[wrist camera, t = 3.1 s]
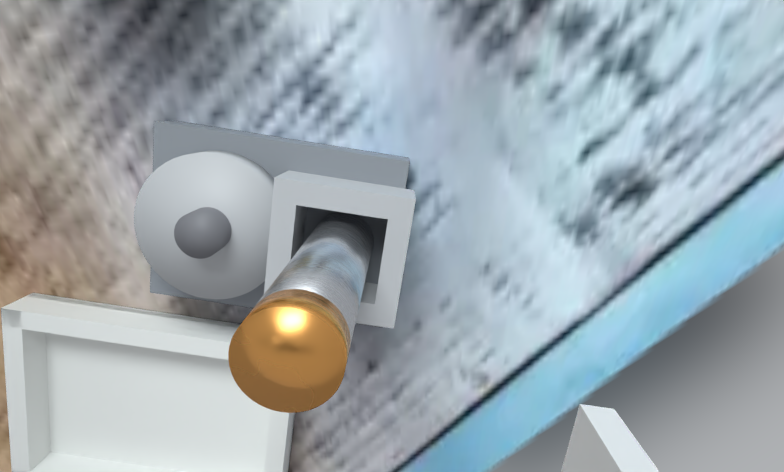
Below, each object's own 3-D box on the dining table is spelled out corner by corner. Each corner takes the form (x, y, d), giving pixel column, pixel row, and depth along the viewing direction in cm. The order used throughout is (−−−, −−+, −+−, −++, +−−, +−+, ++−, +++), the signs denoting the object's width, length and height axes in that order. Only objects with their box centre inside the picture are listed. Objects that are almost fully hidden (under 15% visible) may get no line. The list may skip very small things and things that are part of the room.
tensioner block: (170, 278, 30) (117, 314, 24) (175, 120, 27) (118, 122, 22) (391, 311, 30) (389, 355, 24) (417, 159, 27) (421, 169, 22)
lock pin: (311, 263, 27) (224, 403, 14) (317, 207, 26) (232, 298, 13) (368, 273, 27) (337, 420, 14) (377, 216, 26) (352, 317, 13)
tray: (40, 457, 33) (12, 484, 31) (33, 292, 30) (1, 308, 28) (285, 492, 34) (276, 521, 31) (304, 333, 31) (295, 352, 28)
